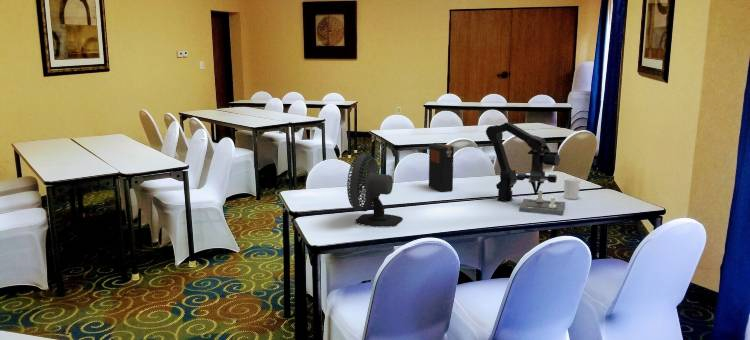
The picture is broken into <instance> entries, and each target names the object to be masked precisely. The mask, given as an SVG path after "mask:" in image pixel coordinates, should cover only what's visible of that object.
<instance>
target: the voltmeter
mask: <svg viewBox="0 0 750 340" xmlns="http://www.w3.org/2000/svg"><path fill="white" fill-rule="evenodd" d="M428 149H429V150H428V187H429V188H432V189H435V190H437V191H439V192H442V193H443V192H452V191H453V190H454V189H453V186H454V185H453V182H454V181H453V180H454V149H455V148H454V146H453V145H449V144H445V143H441V142H434V143H430V144H429V148H428Z"/></svg>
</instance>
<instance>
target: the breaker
mask: <svg viewBox="0 0 750 340" xmlns="http://www.w3.org/2000/svg"><path fill="white" fill-rule="evenodd" d="M550 201H551V204H549V208H556V205H555V201H556V196H551V197H550Z"/></svg>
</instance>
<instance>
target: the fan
mask: <svg viewBox="0 0 750 340" xmlns="http://www.w3.org/2000/svg"><path fill="white" fill-rule="evenodd" d="M348 170H349V171H348V174H347V181H346V182H347V184H346V185H347V186H346V187H347V197H348V202H349V204H350V206H351V207H352V208H353V209H354V210H355V211H357V212H367V211H369V210H370V209H372V208H373V213H364V214H361V215H360V216H359V217H358V218H356V219H355V220H354V222H355V221H356V222H357V223H356V222H355V223H356V224H358V223H360V224H359V225H361V224H364V225H363V226H367V225H370V226H369V227H376V226H392V227H396V226H398V225H399V224H400V223H401V222H402V221H403V220H404V219H403V217H402V216H399V215H394V214H388V213H385V205H384V204H383V203H382V201H381V199H380V196H381V195H386V196H387V195H390V194H391V193H392V191H393V188H394V187H393V185H394V181H393V176H392V175H390V174H384V173H383V174H382V173H380V167H379V165H378V162H377V160H376V159H375V158H374V157H373V156H372V155H370V154H359V155H358V156H356V157H355V158H354V159H353V160H352V162H351V164H350V166H349V169H348ZM398 223H399V224H398ZM397 224H398V225H397Z"/></svg>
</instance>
